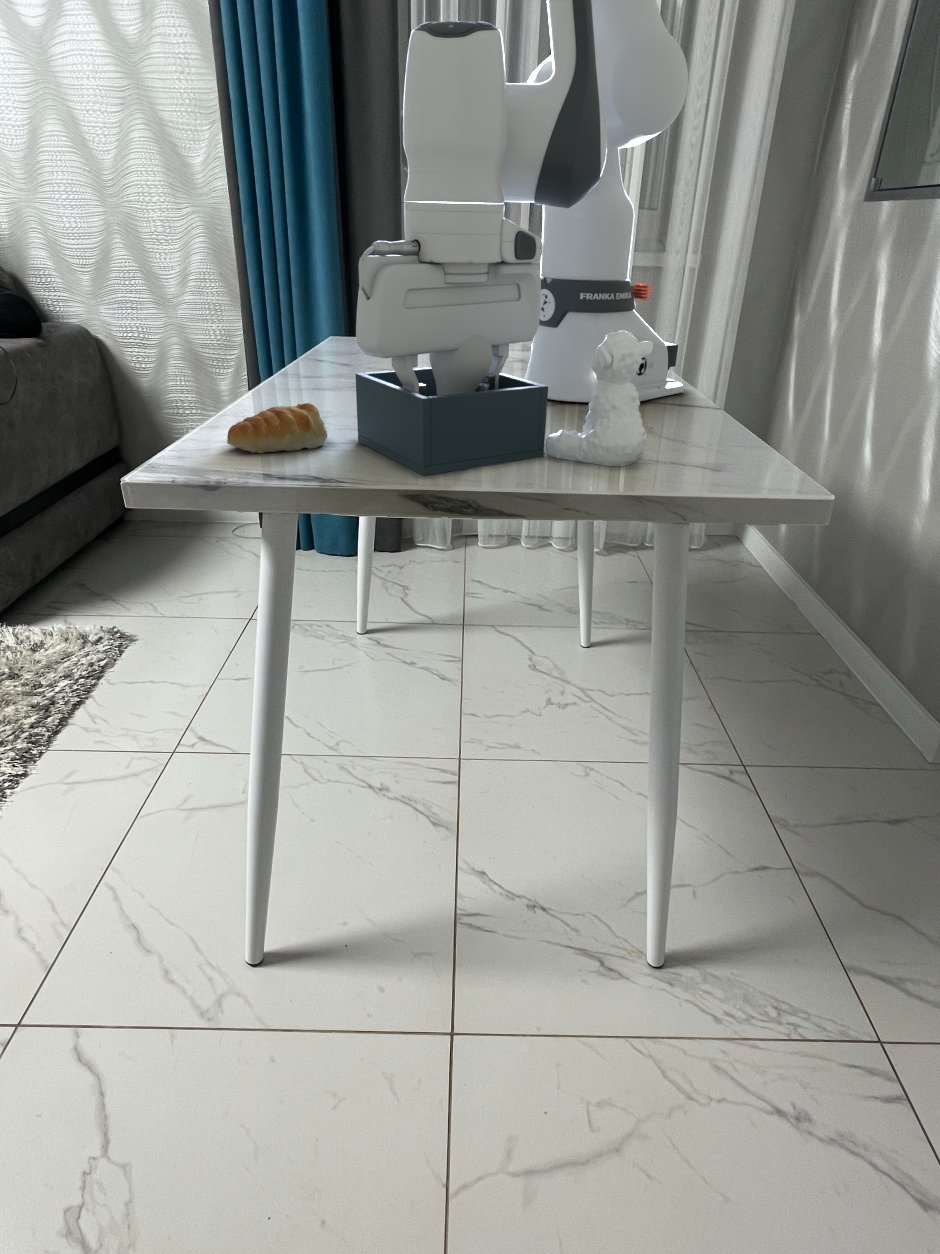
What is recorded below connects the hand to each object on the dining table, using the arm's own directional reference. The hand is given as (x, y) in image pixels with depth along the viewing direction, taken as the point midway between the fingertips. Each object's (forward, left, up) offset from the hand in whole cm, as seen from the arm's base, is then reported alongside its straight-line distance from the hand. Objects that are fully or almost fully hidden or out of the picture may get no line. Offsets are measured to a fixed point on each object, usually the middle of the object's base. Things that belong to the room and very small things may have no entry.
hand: (452, 397), depth 79 cm
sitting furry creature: (-12, +10, -5) cm, 16 cm away
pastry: (+14, -9, -5) cm, 18 cm away
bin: (0, 0, -5) cm, 5 cm away
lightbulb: (0, -1, -4) cm, 4 cm away
